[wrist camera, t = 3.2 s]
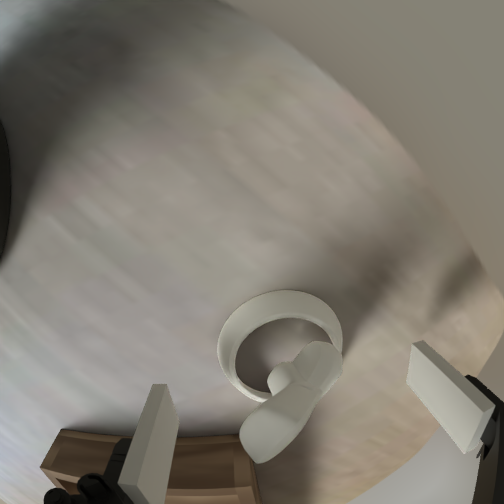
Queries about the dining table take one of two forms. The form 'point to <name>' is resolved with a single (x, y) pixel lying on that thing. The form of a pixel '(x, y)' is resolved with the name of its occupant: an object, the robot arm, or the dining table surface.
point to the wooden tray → (181, 473)
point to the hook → (282, 369)
